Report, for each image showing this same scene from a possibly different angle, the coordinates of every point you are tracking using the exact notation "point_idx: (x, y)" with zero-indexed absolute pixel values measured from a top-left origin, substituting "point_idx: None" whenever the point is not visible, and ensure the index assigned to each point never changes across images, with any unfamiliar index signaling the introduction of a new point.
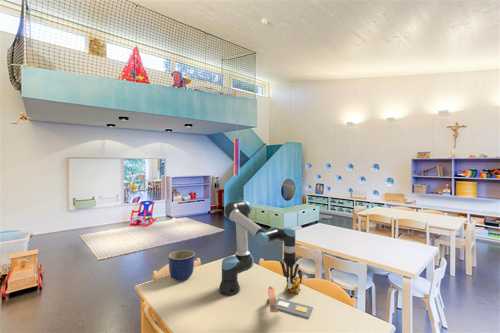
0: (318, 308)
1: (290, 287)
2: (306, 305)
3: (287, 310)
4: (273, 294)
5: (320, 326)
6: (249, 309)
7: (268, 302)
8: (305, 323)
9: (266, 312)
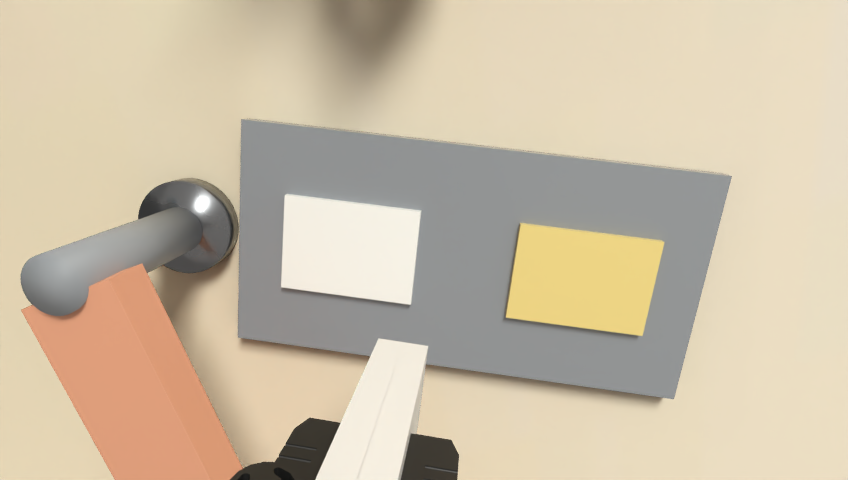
0: (799, 142)
1: (417, 423)
2: (642, 167)
3: None
4: (182, 467)
5: (792, 468)
6: (57, 415)
7: (174, 268)
8: (636, 465)
9: (225, 412)
